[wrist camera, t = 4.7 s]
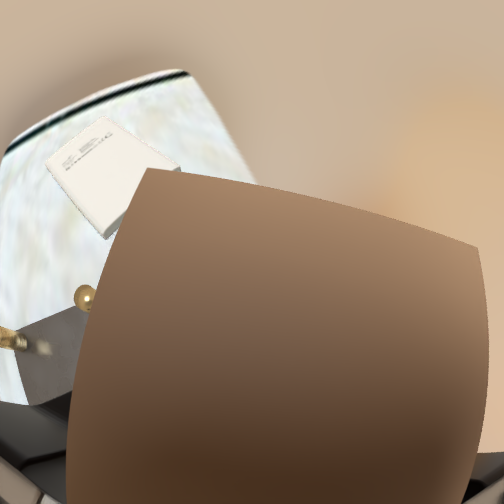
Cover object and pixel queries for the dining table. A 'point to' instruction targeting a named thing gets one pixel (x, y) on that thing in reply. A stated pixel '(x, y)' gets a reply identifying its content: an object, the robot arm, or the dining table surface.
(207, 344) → the walnut post
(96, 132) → the external hard drive
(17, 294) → the dining table surface
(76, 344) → the plate
